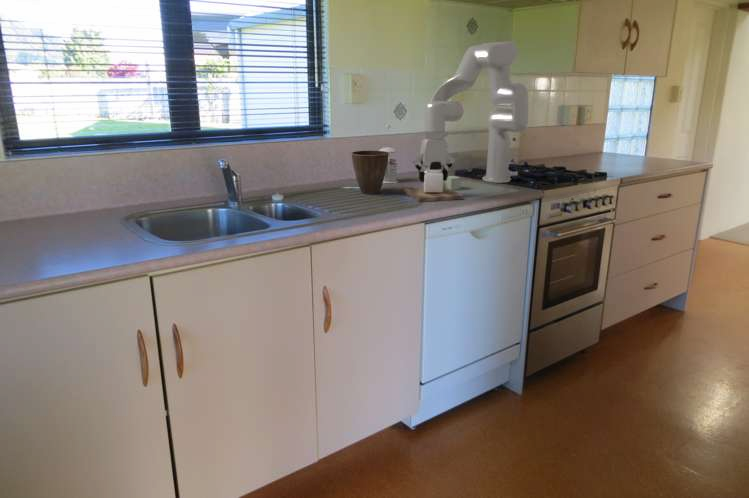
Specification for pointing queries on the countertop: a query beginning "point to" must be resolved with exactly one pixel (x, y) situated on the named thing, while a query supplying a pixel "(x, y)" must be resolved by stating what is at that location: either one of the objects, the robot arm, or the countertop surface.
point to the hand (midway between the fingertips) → (433, 180)
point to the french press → (390, 166)
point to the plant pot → (370, 169)
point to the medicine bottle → (433, 178)
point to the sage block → (453, 182)
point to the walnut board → (432, 194)
